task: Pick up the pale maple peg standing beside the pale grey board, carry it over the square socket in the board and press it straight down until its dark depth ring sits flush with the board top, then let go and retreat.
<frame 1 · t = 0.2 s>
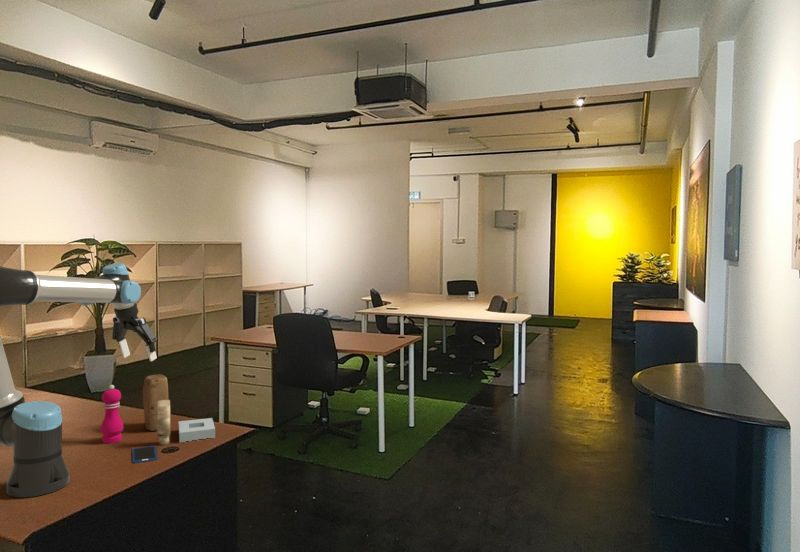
hand: (140, 358, 206), 27 cm above the table, tool tilted 20°, fingers open, 13 cm apart
pepper mill: (112, 441, 196), on the table
cell phone: (144, 456, 183), on the table
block: (155, 428, 211), on the table
peg: (164, 443, 193), on the table
board: (196, 434, 203), on the table
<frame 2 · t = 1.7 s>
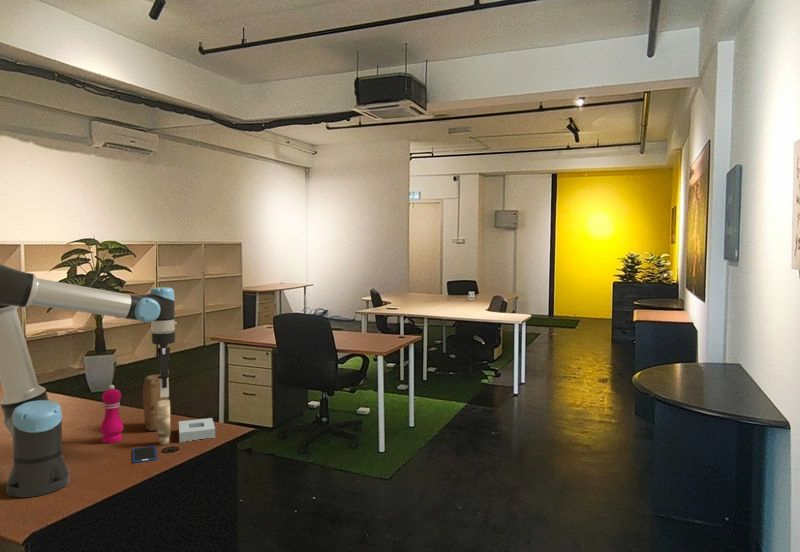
hand: (164, 392, 193), 18 cm above the table, tool pointing down, fingers open, 13 cm apart
nothing on the table moved.
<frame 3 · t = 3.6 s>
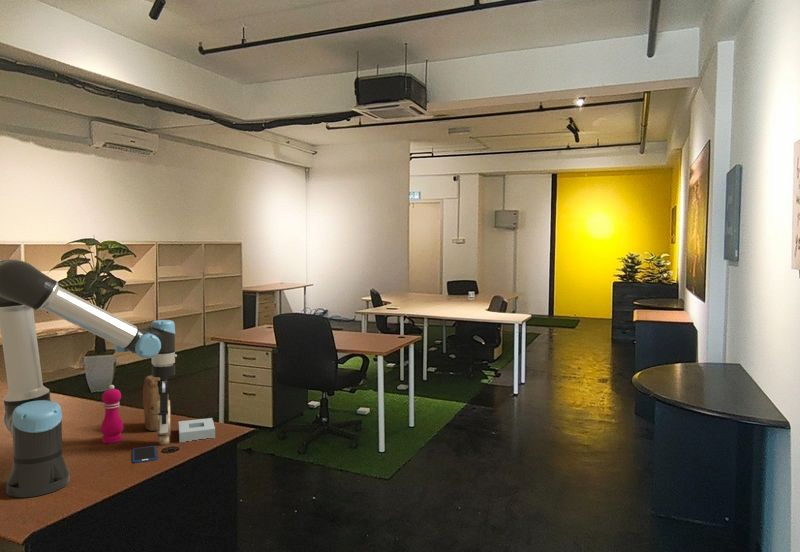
hand: (164, 430, 193), 5 cm above the table, tool pointing down, fingers closed on peg, 4 cm apart
peg: (164, 443, 193), on the table, touching gripper
everything else where it was.
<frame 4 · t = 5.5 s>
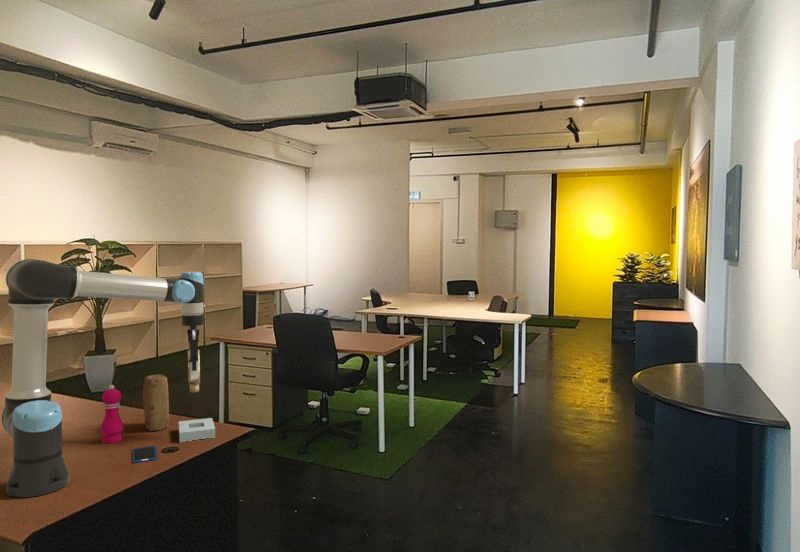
hand: (194, 377, 201), 21 cm above the table, tool pointing down, fingers closed on peg, 4 cm apart
peg: (194, 391, 202), point 16 cm above the table, touching gripper
everything else where it was.
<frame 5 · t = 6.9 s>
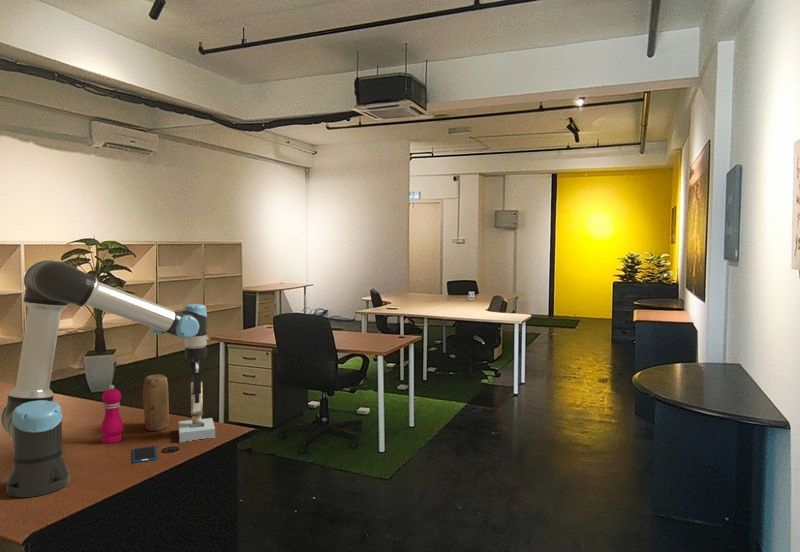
hand: (196, 409, 203), 9 cm above the table, tool pointing down, fingers closed on peg, 4 cm apart
peg: (196, 422, 203), point 4 cm above the table, touching gripper
everything else where it was.
when the fingers open (6 cm above the table, at t = 7.8 s): peg stays where it is, resting in board.
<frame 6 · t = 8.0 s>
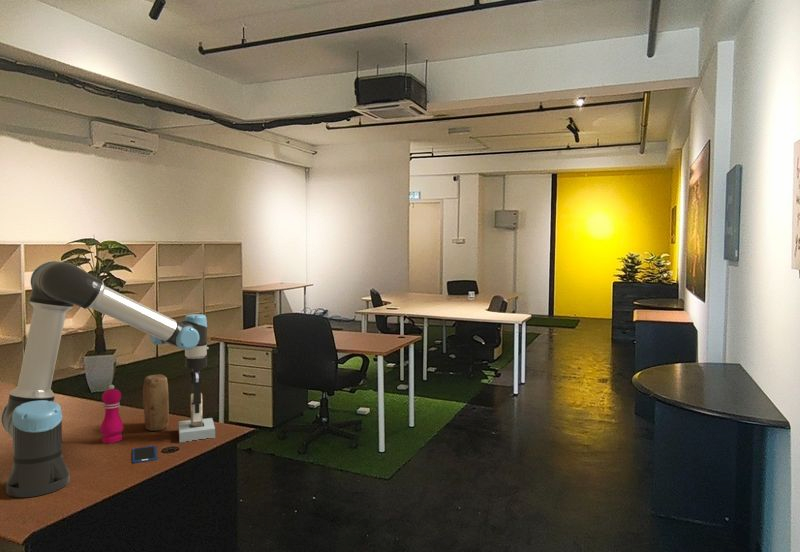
hand: (196, 418, 203), 6 cm above the table, tool pointing down, fingers open, 6 cm apart
peg: (196, 434, 203), resting in board
everything else where it was.
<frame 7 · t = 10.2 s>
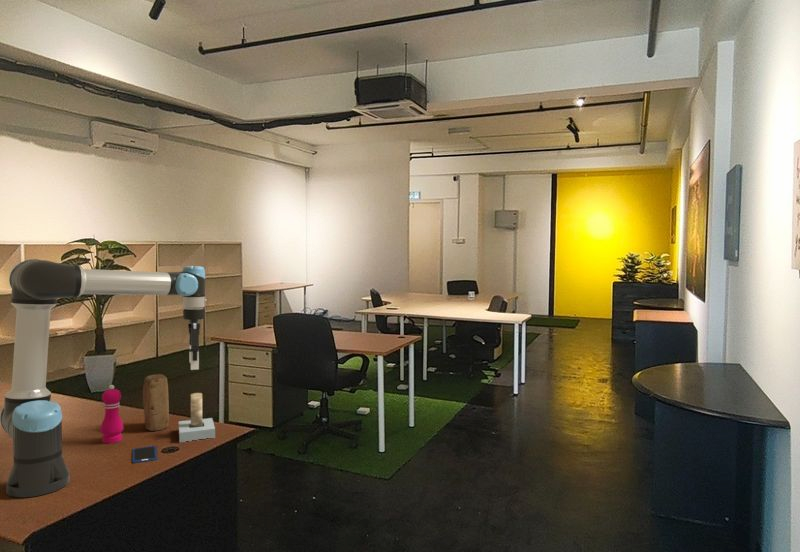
hand: (194, 365, 202), 25 cm above the table, tool pointing down, fingers open, 13 cm apart
nothing on the table moved.
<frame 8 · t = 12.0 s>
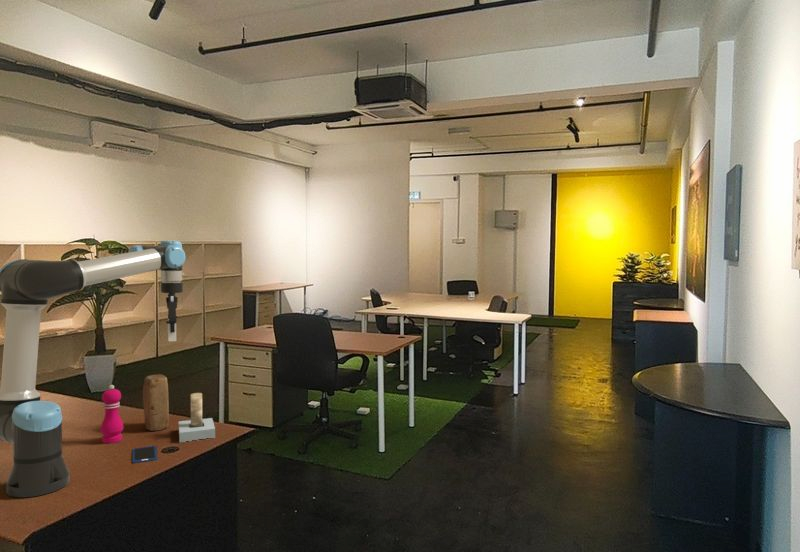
hand: (172, 338, 207), 35 cm above the table, tool pointing down, fingers open, 13 cm apart
nothing on the table moved.
at the end: peg 0.0 cm off-centre on the board, point 0.0 cm above the board's base; peg tilted 0°; the gripper is holding nothing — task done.
